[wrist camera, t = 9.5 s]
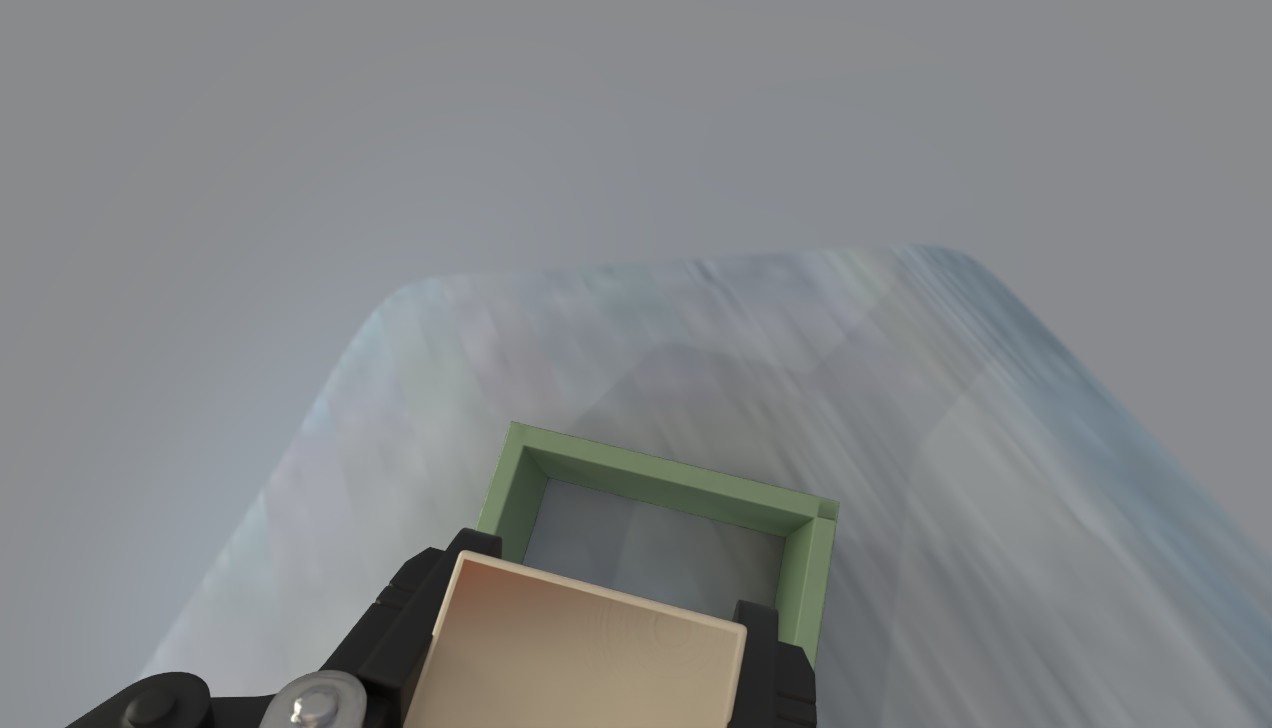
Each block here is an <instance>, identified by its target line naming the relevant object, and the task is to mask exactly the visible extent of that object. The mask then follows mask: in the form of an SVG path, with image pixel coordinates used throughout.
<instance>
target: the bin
mask: <svg viewBox="0 0 1272 728" xmlns="http://www.w3.org/2000/svg"><path fill="white" fill-rule="evenodd" d="M548 477H549V478H553V479H557V480H561V481H565V482H569V483H573V484H577V485H581V486H585V487H588V488H592V489H596V490H600V491H604V492H608V493H612V494H616V495H620V496H624V497H628V498H632V499H636V500H639V501H643V502H647V503H651V504H655V505H659V506H663V507H667V508H671V509H675V510H679V511H683V512H687V513H690V514H694V515H698V516H702V517H706V518H710V519H714V520H718V521H722V522H726V523H730V524H734V525H738V526H741V527H745V528H749V529H753V530H757V531H761V532H765V533H769V534H773V535H777V536H781V537H785V538H786V541H785V546H784V552H783V558H782V563H781V569H780V575H779V580H778V586H777V592H776V597H775V603H774V609H777V610H778V613H779V625H778V641H781V642H785V643H788V644H792V645H796V646H799V647H802V648H803V650H804V652H805V654H806V656H807V658H808V660H809V662H810V665H811V667H812V669H813V671H814V668H815V662H816V655H817V648H818V642H819V635H820V629H821V622H822V615H823V609H824V602H825V595H826V589H827V582H828V576H829V569H830V562H831V556H832V549H833V543H834V536H835V529H836V523H837V517H838V510H839V502H838V501H834V500H830V499H826V498H822V497H817V496H813V495H809V494H805V493H801V492H797V491H793V490H789V489H785V488H781V487H777V486H773V485H769V484H765V483H761V482H756V481H752V480H748V479H744V478H740V477H736V476H732V475H728V474H724V473H720V472H716V471H712V470H708V469H704V468H700V467H695V466H691V465H687V464H683V463H679V462H675V461H671V460H667V459H663V458H659V457H655V456H651V455H647V454H643V453H639V452H634V451H630V450H626V449H622V448H618V447H614V446H610V445H606V444H602V443H598V442H594V441H590V440H586V439H582V438H578V437H573V436H569V435H565V434H561V433H557V432H553V431H549V430H545V429H541V428H537V427H533V426H529V425H525V424H521V423H517V422H511V423H510V426H509V429H508V432H507V435H506V438H505V441H504V444H503V447H502V450H501V453H500V456H499V459H498V462H497V465H496V468H495V471H494V474H493V477H492V480H491V483H490V486H489V489H488V492H487V495H486V498H485V501H484V504H483V507H482V510H481V513H480V516H479V519H478V522H477V525H476V528H475V530H476V531H480V532H484V533H488V534H491V535H495V536H499V537H501V538H502V558H501V560H505V561H509V562H512V563H516V564H520V565H522V562H523V559H524V555H525V552H526V549H527V546H528V542H529V539H530V536H531V533H532V529H533V526H534V523H535V519H536V516H537V513H538V510H539V506H540V503H541V500H542V497H543V493H544V490H545V487H546V484H547V480H548Z"/></svg>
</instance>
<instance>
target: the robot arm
mask: <svg viewBox="0 0 1272 728" xmlns="http://www.w3.org/2000/svg"><path fill="white" fill-rule="evenodd" d="M463 550H468V551H472V552H475V553H479V554H483V555H486V556H490V557H494V558H498V559H501V558H502V538H501V537H499V536H495V535H491V534H488V533H484V532H480V531H476V530H473V529H469V528H463V529H462V530H460V532H459V533H458V534H457V536H456V537H455V538H454V540H453V541H452V542H451V544H450V545H449V546H448V548H447V549H446V551H443V550H439V549H435V548H432V547H429V548H427V549H426V550H424V551H422V552H421V553H419V554H418V555H416V556H414V557H413V558H411V559H410V560H408V561H406V562H405V563H404V565H403V566H402V567H401V568H400V570H399V571H398V572H397V573H396V575H395V576H394V577H393V578H392V580H391V581H390V583H389V586H386V587H385V588H384V590H383V591H382V592H381V593H380V595H379V596H378V597H377V599H376V602H375V603H373V604H372V605H371V606H370V607H369V609H368V610H367V611H366V612H365V614H364V615H363V616H362V617H361V619H360V620H359V621H358V622H357V624H356V625H355V626H354V627H353V629H352V630H351V631H350V632H349V634H348V635H347V636H346V637H345V639H344V640H343V641H342V642H341V644H340V645H339V646H338V647H337V649H336V650H335V651H334V652H333V654H332V655H331V656H330V657H329V659H328V660H327V661H326V663H325V664H324V665H323V666H322V667H321V668H320V669H319V670H318V671H317V672H313V673H310V674H306V675H304V676H302V677H299V678H297V679H296V680H294V681H292V682H291V683H289V684H288V685H286V686H285V687H284V688H283V689H282V690H281V691H280V692H279V693H277V694H273V695H267V696H258V697H212V698H211V697H210V692H209V688H208V686H207V684H206V683H205V682H204V681H203V680H202V679H201V678H199V677H198V676H196V675H193V674H190V673H185V672H168V673H162V674H157V675H153V676H150V677H148V678H145V679H142V680H140V681H138V682H136V683H134V684H132V685H130V686H129V687H127V688H125V689H123V690H122V691H120V692H119V693H117V694H116V695H114V696H113V697H111V698H110V699H108V700H107V701H105V702H104V703H102V704H100V705H99V706H98V707H96V708H94V709H93V710H91V711H90V712H88V713H87V714H85V715H84V716H82V717H81V718H79V719H78V720H76V721H74V722H73V723H71V724H70V725H68V726H67V727H65V728H403V725H404V722H405V719H406V716H407V713H408V710H409V707H410V704H411V701H412V698H413V695H414V692H415V689H416V686H417V684H418V681H419V678H420V675H421V672H422V669H423V666H424V663H425V660H426V657H427V654H428V651H429V648H430V645H431V642H432V639H433V635H432V634H433V630H434V627H435V624H436V621H437V618H438V615H439V612H440V609H441V606H442V603H443V600H444V597H445V594H446V591H447V588H448V585H449V582H450V579H451V576H452V573H453V570H454V567H455V565H456V562H457V559H458V556H459V554H460V552H461V551H463ZM732 622H735V623H738V624H742V625H744V626H745V627H746V628H747V637H746V643H745V648H744V654H743V659H742V664H741V670H740V675H739V681H738V686H737V692H736V697H735V702H734V708H733V713H732V718H731V720H730V722H728V724H727V728H816V725H817V715H816V706H815V703H816V689H815V673H814V671H813V669H812V667H811V665H810V662H809V660H808V658H807V656H806V654H805V652H804V650H803V648H802V647H799V646H796V645H792V644H788V643H785V642H781V641H778V625H779V613H778V610H777V609H773V608H770V607H766V606H762V605H758V604H754V603H751V602H747V601H743V600H738V602H737V605H736V609H735V612H734V616H733V620H732Z"/></svg>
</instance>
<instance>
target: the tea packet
mask: <svg viewBox="0 0 1272 728" xmlns="http://www.w3.org/2000/svg"><path fill="white" fill-rule="evenodd" d="M432 635H433V639H432V642H431V645H430V648H429V651H428V654H427V657H426V660H425V663H424V666H423V669H422V672H421V675H420V678H419V681H418V684H417V686H416V689H415V692H414V695H413V698H412V701H411V704H410V707H409V710H408V713H407V716H406V719H405V722H404V725H403V728H727V724H728V722H730V720H731V718H732V713H733V708H734V702H735V697H736V692H737V686H738V681H739V675H740V670H741V664H742V659H743V654H744V648H745V643H746V637H747V628H746V627H745V626H744V625H742V624H738V623H735V622H731V621H727V620H724V619H720V618H716V617H712V616H709V615H705V614H701V613H698V612H694V611H690V610H687V609H683V608H679V607H675V606H672V605H668V604H664V603H661V602H657V601H653V600H650V599H646V598H642V597H638V596H635V595H631V594H627V593H624V592H620V591H616V590H612V589H609V588H605V587H601V586H598V585H594V584H590V583H587V582H583V581H579V580H575V579H572V578H568V577H564V576H561V575H557V574H553V573H549V572H546V571H542V570H538V569H535V568H531V567H527V566H524V565H520V564H516V563H512V562H509V561H505V560H501V559H498V558H494V557H490V556H486V555H483V554H479V553H475V552H472V551H468V550H463V551H461V552H460V554H459V556H458V559H457V562H456V565H455V567H454V570H453V573H452V576H451V579H450V582H449V585H448V588H447V591H446V594H445V597H444V600H443V603H442V606H441V609H440V612H439V615H438V618H437V621H436V624H435V627H434V630H433V634H432Z"/></svg>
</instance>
